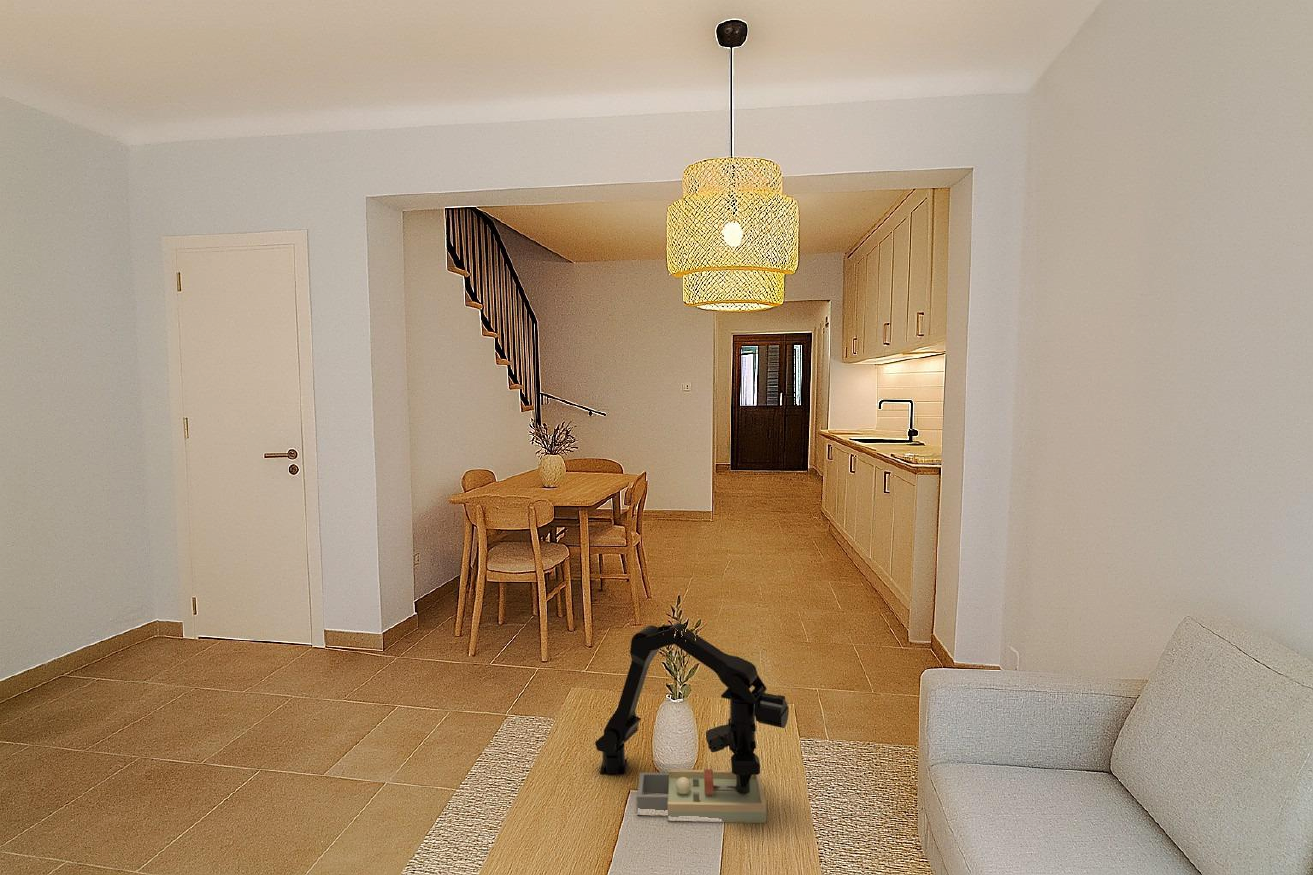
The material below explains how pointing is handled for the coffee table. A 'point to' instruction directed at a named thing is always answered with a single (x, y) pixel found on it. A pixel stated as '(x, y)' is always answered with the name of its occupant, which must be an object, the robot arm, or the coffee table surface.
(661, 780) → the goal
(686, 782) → the ball
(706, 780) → the kicker
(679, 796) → the tray
